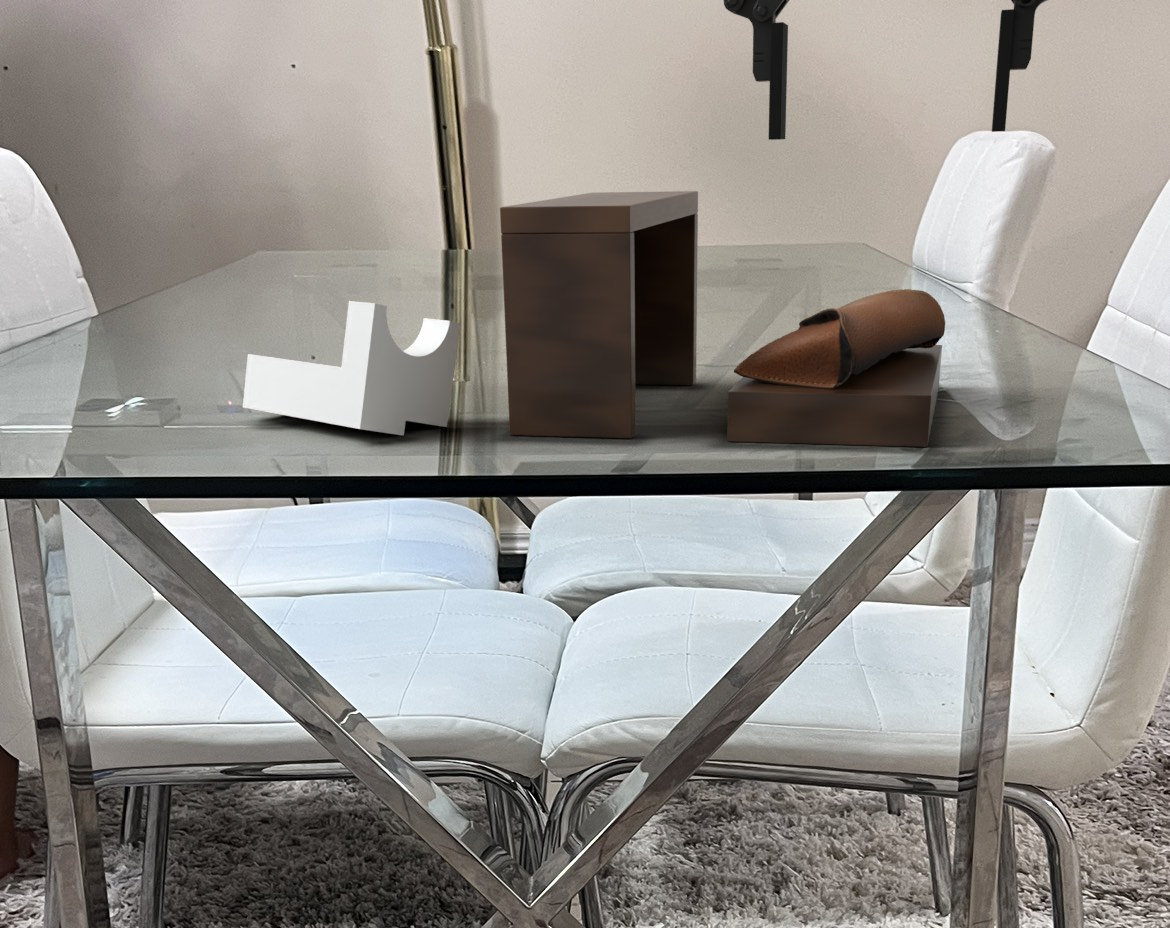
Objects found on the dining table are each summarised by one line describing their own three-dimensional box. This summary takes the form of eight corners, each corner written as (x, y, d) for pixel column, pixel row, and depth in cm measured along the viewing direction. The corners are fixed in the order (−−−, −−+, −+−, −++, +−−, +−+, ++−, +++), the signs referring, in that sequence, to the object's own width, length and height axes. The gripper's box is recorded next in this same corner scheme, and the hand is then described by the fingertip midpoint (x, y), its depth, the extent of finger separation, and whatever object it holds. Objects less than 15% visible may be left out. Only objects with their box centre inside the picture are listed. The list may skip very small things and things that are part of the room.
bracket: (444, 441, 93) (460, 323, 91) (359, 429, 87) (374, 303, 86) (326, 419, 101) (338, 311, 99) (242, 407, 96) (253, 292, 94)
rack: (938, 387, 102) (954, 187, 97) (927, 447, 83) (946, 201, 77) (594, 381, 109) (590, 192, 103) (509, 435, 89) (499, 207, 84)
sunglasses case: (829, 337, 102) (880, 254, 98) (906, 393, 100) (961, 311, 96) (725, 373, 88) (779, 278, 84) (813, 439, 86) (873, 345, 82)
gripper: (1133, -284, 80) (1090, 128, 88) (699, -240, 85) (699, 142, 94) (1148, -322, 73) (1100, 127, 82) (677, -272, 79) (678, 142, 87)
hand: (885, 136), depth 88 cm, fingers open, 13 cm apart
